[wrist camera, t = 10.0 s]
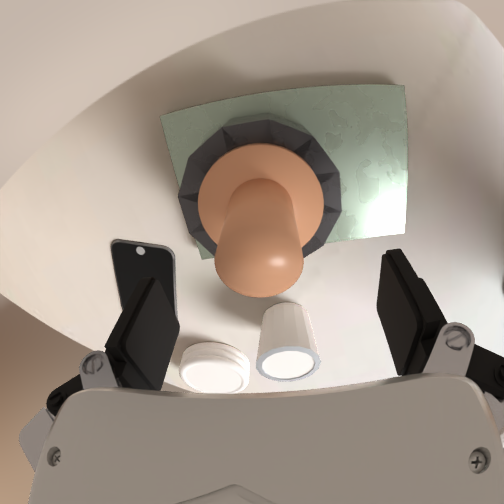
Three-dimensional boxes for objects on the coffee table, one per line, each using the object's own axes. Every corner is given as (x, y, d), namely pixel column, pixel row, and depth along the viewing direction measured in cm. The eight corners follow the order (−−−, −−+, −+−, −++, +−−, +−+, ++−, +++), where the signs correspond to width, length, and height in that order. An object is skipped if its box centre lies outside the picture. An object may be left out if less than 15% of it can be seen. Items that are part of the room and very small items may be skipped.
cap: (307, 127, 19) (344, 166, 10) (318, 225, 23) (345, 314, 14) (197, 146, 20) (147, 198, 11) (222, 238, 24) (200, 330, 15)
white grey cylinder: (252, 301, 32) (249, 350, 26) (312, 294, 31) (321, 342, 26) (262, 339, 36) (261, 384, 30) (314, 333, 35) (320, 378, 29)
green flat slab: (396, 84, 19) (435, 89, 13) (398, 225, 26) (425, 262, 21) (165, 114, 21) (134, 125, 16) (204, 251, 29) (191, 293, 23)
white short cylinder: (194, 378, 43) (191, 395, 40) (173, 340, 38) (167, 360, 35) (254, 377, 42) (253, 395, 39) (243, 338, 36) (241, 359, 33)
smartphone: (174, 248, 28) (178, 341, 37) (176, 244, 29) (179, 337, 37) (108, 239, 28) (126, 330, 36) (111, 235, 29) (128, 327, 37)
